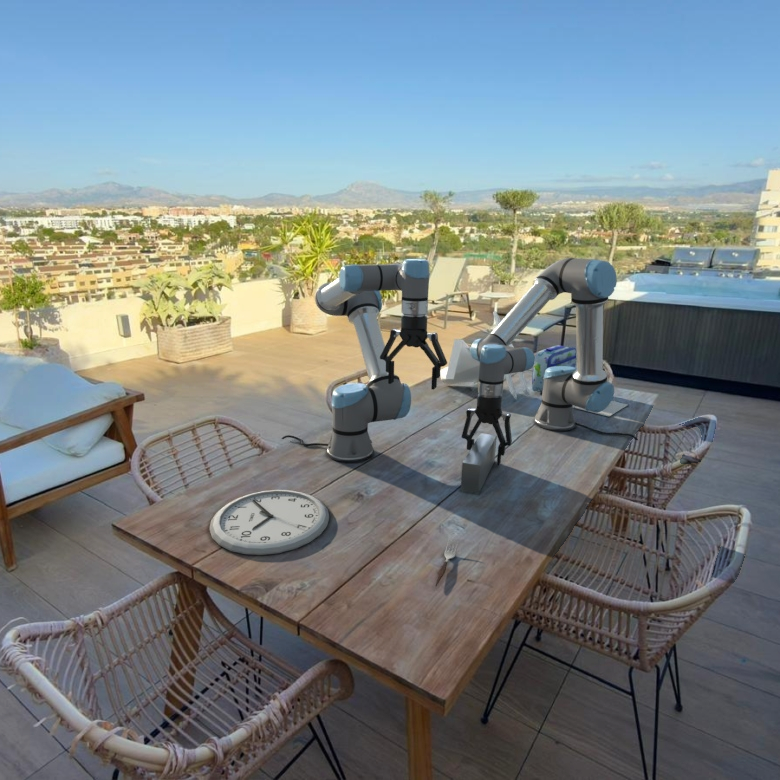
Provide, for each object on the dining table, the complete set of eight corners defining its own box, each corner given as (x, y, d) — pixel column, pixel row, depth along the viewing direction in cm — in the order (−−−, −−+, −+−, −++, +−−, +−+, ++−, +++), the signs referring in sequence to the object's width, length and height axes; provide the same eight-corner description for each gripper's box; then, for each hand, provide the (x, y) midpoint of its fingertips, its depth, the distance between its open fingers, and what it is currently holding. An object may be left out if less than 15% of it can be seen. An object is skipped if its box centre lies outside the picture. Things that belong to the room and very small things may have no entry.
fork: (429, 586, 111) (429, 578, 110) (447, 545, 125) (448, 538, 125) (441, 589, 110) (441, 581, 109) (458, 548, 124) (459, 541, 124)
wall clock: (327, 546, 121) (194, 551, 119) (327, 552, 122) (195, 557, 119) (330, 485, 150) (223, 488, 147) (330, 490, 150) (224, 493, 148)
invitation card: (608, 416, 214) (573, 407, 224) (608, 416, 214) (573, 408, 224) (628, 404, 229) (594, 396, 238) (628, 405, 229) (594, 397, 238)
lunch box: (548, 398, 236) (553, 353, 229) (527, 393, 243) (531, 349, 237) (575, 387, 253) (581, 344, 247) (555, 382, 260) (560, 341, 254)
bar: (478, 458, 173) (480, 433, 171) (494, 461, 172) (496, 435, 169) (460, 490, 152) (462, 462, 149) (478, 494, 150) (480, 465, 147)
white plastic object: (461, 429, 252) (437, 405, 227) (444, 352, 274) (420, 323, 250) (535, 404, 240) (518, 377, 215) (510, 326, 262) (492, 293, 237)
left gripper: (369, 313, 151) (369, 383, 157) (453, 320, 142) (449, 394, 149) (379, 309, 158) (378, 377, 164) (460, 316, 149) (455, 387, 155)
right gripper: (453, 393, 162) (449, 460, 169) (522, 402, 155) (515, 472, 162) (459, 387, 169) (455, 451, 176) (526, 395, 162) (519, 462, 168)
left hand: (412, 385), depth 156 cm, fingers open, 13 cm apart
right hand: (484, 461), depth 169 cm, fingers open, 8 cm apart
